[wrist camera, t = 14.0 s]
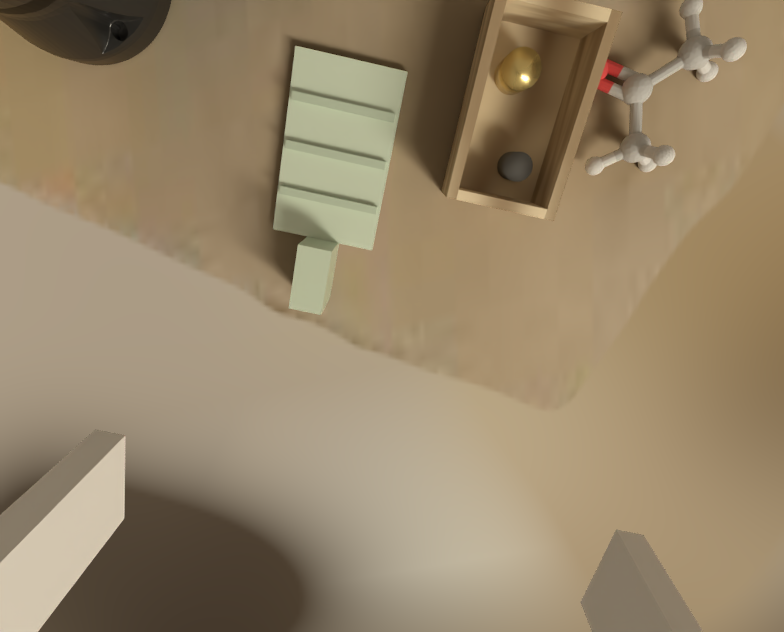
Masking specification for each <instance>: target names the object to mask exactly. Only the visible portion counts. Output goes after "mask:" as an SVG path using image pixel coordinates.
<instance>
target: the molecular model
mask: <svg viewBox="0 0 784 632" xmlns="http://www.w3.org/2000/svg"><path fill="white" fill-rule="evenodd" d="M702 7H703V1H702V0H685V1H684V2H683V3H682V5H681V7H680V10H679V11H680V16H681V17H682V18H683V19H685V26H686V37H687V41H685V42H684V44H683V45H682V46H681V47H680V49H679V51H678V55H677V58H675V59H674V60H672V61H671V62H669V63H668V64H666V65H664V66H663V67H661V68H660V69H658V70H656V71H655V72H653V73H652V74H650V75H649V76H648V75H646V74H643V73H638V72H636V71H633V70H631V69H629V68H627V67H625V66H622V65H620V64H618V63H616V62H613V61H611V60H609V59H607V61H606V64H605V67H604V70H603V73H602V76H601V79H600V82H599V85H598V88H597V89H598V90H601V91H603V92H605V93H607V94H609V95H611V96H614V97H616V98H618V99H620V100H622V101H624V102H625V103H626V104H628V105H630V122H629V135H628V136H627V137H625V138H624V139H623V141H622V142H621V144H620V148H619V149H618V150H616V151H614V152H611V153H609V154H607V155H605V156H603V157H591V158H590V159H588V160H587V162H586V163H585V170H586V172H587V173H588V174H590V175H597V174H599V173H600V172H601V171H602V170H603V168H604V167H606V166H608V165H610V164H613V163H615V162H617V161H620V160H622V159H623V160H625V161H627V162H630V163H635V162H638V167H639V169H640V170H641V171H643V172H650V171H652V170H653V169H654V168H655V167H656V166H657V165H659V166H665V165H668V164H669V163H671V162H672V161H673V159H674V157H675V150H674V149H673V148H672V147H671V146H668V145H663V146H660V147H654V146H651V142H650V139H649V138H648V137H647V135H645V134H643V133H642V103H643V102H644V101H646V100H647V99H648V98H649V96H650V95H651V93H652V90H653V85H655V84H657V83H658V82H660V81H662V80H663V79H665V78H667V77H668V76H670V75H671V74H673V73H675V72H676V71H678V70H680V69H681V68H683V69H685V70H696V69H697V71H696V77H697V79H698V80H699V81H701V82H708V81H710V80H712V79H713V78H714V77H715V76H716V75H717V73H718V66H717V64H716V63H715V62H713V61H709V59H710V58H722V59H723V60H725V61H727V62H732V61H735V60H738V59H739V58H740V57H741V56H742V55H744V53H745V51H746V48H747V43H746V41H745V40H744V39H743V38H740V37H735V38H732V39H729V40H728V41H727V42H725V43H724V44H715V45H713V43H712V41H711V40H710V39H709V38H708V37H706V36H700V24H699V13H700V12H701V10H702ZM607 74H609V75H612V76H614V77H616V78H618V79H621V80H623V81H625V82H624V83H623V85H622V86H620V85H618V84H616V83H614V82H612V81H609V80H607V79H605V77H606V76H607Z"/></svg>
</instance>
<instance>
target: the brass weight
mask: <svg viewBox="0 0 784 632" xmlns="http://www.w3.org/2000/svg"><path fill="white" fill-rule="evenodd" d="M541 69H542V64H541V59H540V57H539V55H538V53H537V52H536V51H535V50H533V49H532V48H529V47H519V48H516V49H514V50H513V51H511V52H510V53H509V54H508V55H507V56H506V57H505V58H504V59H503V60H502V61H501V62H500V63H499V64H498V66H497V68H496V70H495V75H494V79H495V84H496V86H497V88H498V89H499V90H500V91H501V92H502V93H504V94H507V95H515V94H518V93H520V92H522V91H524V90H526V89H528V88H530V87H531V86H533V85H534V84H535V83H536V81H537V80H538V78H539V76H540V74H541Z"/></svg>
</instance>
